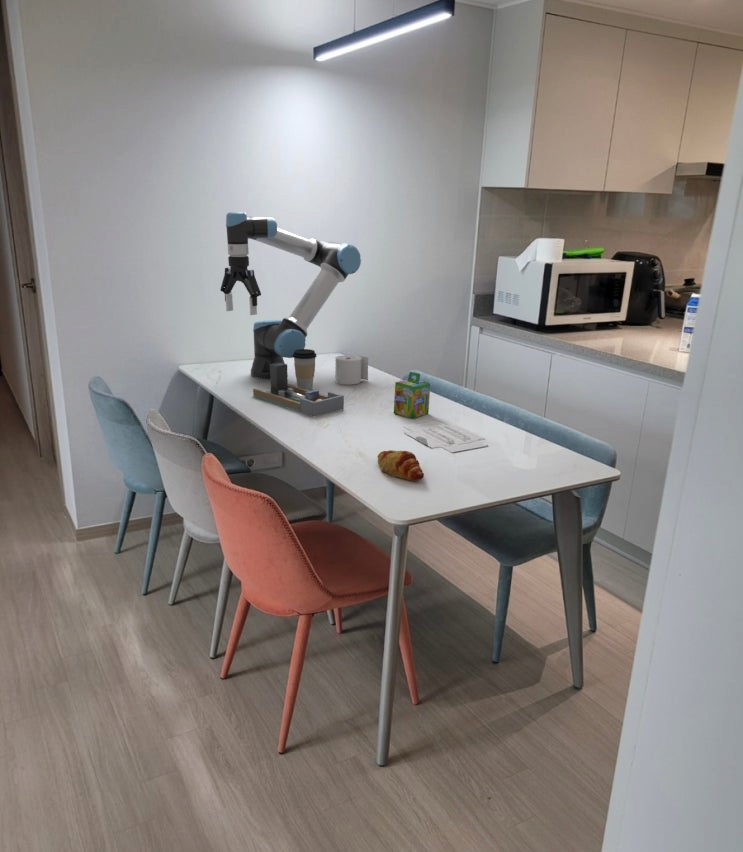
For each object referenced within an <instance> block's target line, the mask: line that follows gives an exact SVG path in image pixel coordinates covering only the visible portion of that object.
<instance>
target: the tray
mask: <svg viewBox="0 0 743 852" xmlns="http://www.w3.org/2000/svg"><path fill="white" fill-rule="evenodd" d="M403 428H404V429H406V430H408V431H410V432H405V433H404V435H407V436H410V437H411V438H412V439H414V440H416V441H419V442H420V443H422V444H424V445H426V446H427V447H430V448H431V449H433V450H434V449H436V448H437V449H438V448H441V449H443V450H445V451H447V452H449V453H451V454H452V453H455V452H461V451H467V450H473V449H478V448H482V447H488V444H485V443H484V442H481V441H483V440H485V439H486V438H485V437H483V436H482V435H479V434H476V433H474V432H472V431H470V430H469V429H466V428H464V427H462V426H460V425H459V424H453V425H447V424H444V423H442V422H440V421H438V420H435V421H431V422H429V421H428V422H424V423H423V422H422V423H418V424H417V423H415V424H410V425H404V426H403Z"/></svg>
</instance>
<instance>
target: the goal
mask: <svg viewBox="0 0 743 852" xmlns="http://www.w3.org/2000/svg"><path fill="white" fill-rule="evenodd" d="M327 396H328V399H324V400H320V401H316V402H313V401H310V400H307V399H304V398H300V405H301V407H300V410H301V411H300V412H299V413H301V414H304V415H306V416H310V415H311V417H313V416H315V417H319V416H323V415H326V414H327V415H328V414H331V413H334V412H338V411H339V412H340V411H343V410H344V408H345V404H344V403H345V401H344V400H345V398H344V397H345V395H343V394H339V393H335V392H333V391H327Z"/></svg>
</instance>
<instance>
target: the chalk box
mask: <svg viewBox="0 0 743 852" xmlns="http://www.w3.org/2000/svg"><path fill="white" fill-rule="evenodd" d="M413 377H415V378H413ZM407 378H408V379H403V380H398V381H396V382H394V383H395V385H394V399H393V400H394V402H393V414H395V415H399V416H402V417H406V418H408V419H412V420H413V419H416V418H419V417H422V416H426V415H429V410H430V396H431V395H430V394H431V383H430V382H427V381H425V380H420V378H421V374H420V373H419V372H418V373H417V372H413V371H409V374H408V377H407Z"/></svg>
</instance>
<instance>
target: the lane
mask: <svg viewBox="0 0 743 852" xmlns="http://www.w3.org/2000/svg"><path fill="white" fill-rule="evenodd" d="M287 390H288V391H291V392H294V393H297V394H301V395H304V396H305V392H307V391H310V390H305V389H302V388H299V387H297V385H296V386H295V385H292V384H288V389H287ZM252 396H253V397H254V398H258V399H261V400H264V401H265V402H268V403H272V404H275V405H277V406H281V407H283V408H286V409H289V410H293V411H296V412H299V413H301V412H300V411H301V410H300V407H301V405H300V399H297V398H294V397H291V396H288V395H285V391H283V390H279V391H278V395H275V394H272V393H271V389H268V390H262V389H259V388H256V387H254V388H253V389H252ZM319 399H322V400H324V399H328V395H325V394H321V393H319Z"/></svg>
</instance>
